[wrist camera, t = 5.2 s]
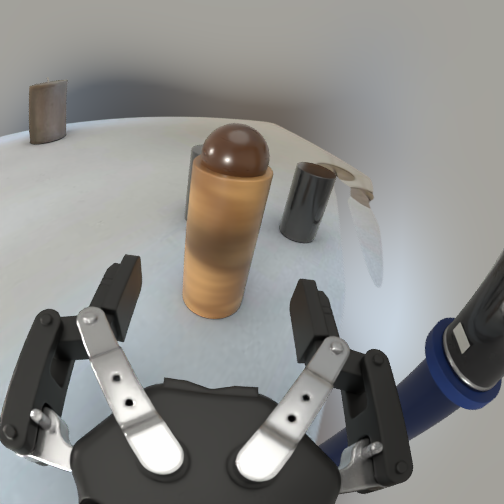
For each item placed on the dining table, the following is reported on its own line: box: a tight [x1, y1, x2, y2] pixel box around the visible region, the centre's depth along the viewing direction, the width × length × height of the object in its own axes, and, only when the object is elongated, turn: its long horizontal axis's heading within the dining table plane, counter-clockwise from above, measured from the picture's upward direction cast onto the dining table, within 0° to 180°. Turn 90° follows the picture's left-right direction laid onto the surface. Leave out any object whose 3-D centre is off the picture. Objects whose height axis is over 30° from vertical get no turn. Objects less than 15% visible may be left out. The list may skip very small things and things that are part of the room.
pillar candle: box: [29, 80, 68, 144], centre depth 44 cm, size 10×10×15 cm
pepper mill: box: [183, 123, 273, 319], centre depth 19 cm, size 5×5×14 cm
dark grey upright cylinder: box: [279, 162, 336, 243], centre depth 31 cm, size 4×4×8 cm
